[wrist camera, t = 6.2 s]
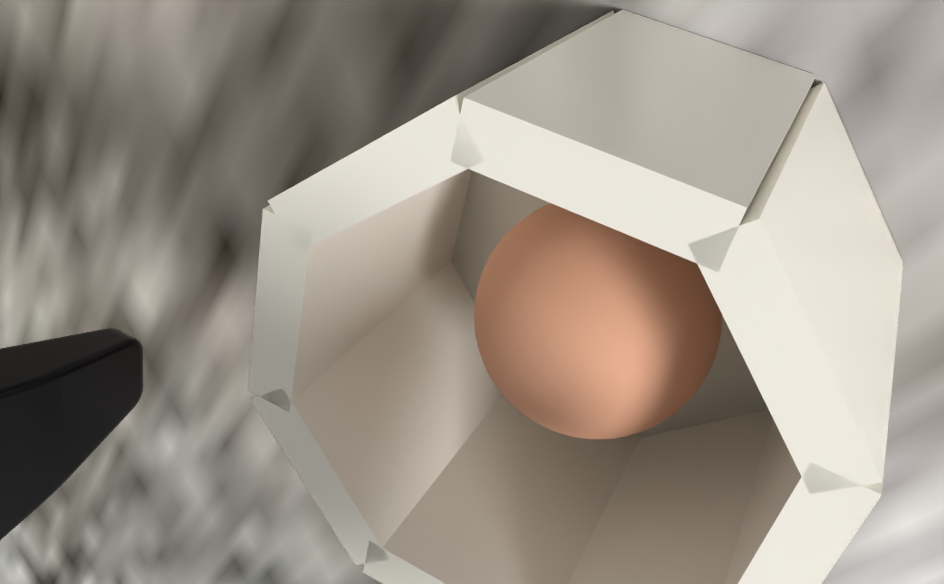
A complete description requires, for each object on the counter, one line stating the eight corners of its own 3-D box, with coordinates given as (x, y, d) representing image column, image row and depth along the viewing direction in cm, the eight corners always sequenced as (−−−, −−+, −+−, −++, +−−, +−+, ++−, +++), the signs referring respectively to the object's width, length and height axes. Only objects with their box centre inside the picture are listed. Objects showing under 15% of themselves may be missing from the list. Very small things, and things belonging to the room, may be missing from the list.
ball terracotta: (780, 213, 14) (735, 325, 11) (695, 395, 16) (637, 532, 13) (559, 128, 15) (459, 208, 12) (507, 310, 17) (411, 418, 14)
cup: (984, 132, 13) (1008, 309, 8) (764, 510, 17) (697, 765, 13) (488, -36, 15) (277, 24, 10) (409, 338, 20) (238, 500, 15)
